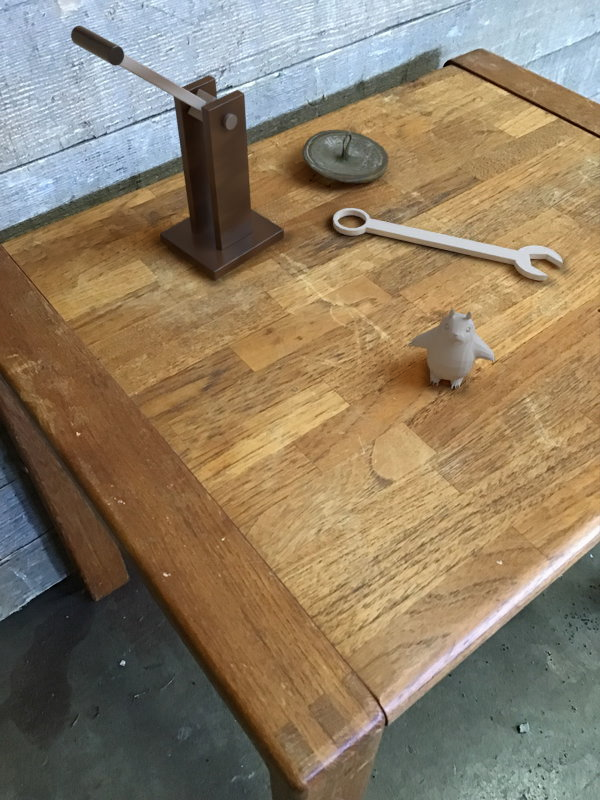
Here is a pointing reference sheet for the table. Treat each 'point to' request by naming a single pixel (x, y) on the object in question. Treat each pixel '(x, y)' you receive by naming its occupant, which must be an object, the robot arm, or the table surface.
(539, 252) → the wrench
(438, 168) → the table surface
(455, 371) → the figurine
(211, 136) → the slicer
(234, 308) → the table surface
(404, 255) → the table surface
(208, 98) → the silver and black bar
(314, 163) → the lid
